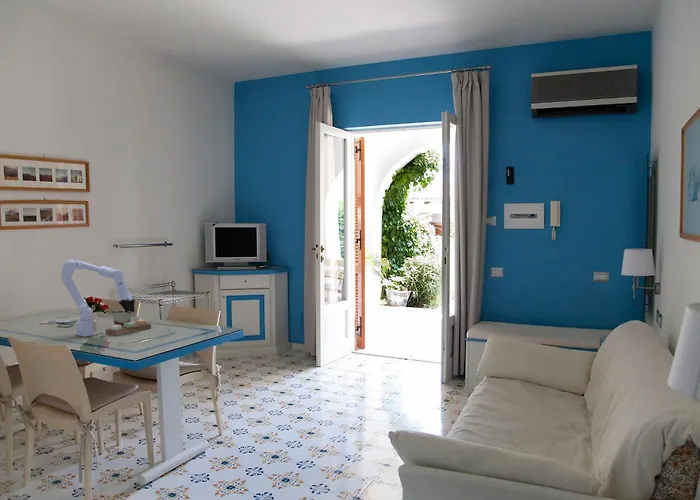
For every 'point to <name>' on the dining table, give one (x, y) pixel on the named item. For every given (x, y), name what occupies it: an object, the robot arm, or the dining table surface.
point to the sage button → (128, 324)
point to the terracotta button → (141, 322)
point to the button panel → (128, 329)
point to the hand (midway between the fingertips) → (130, 311)
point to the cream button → (115, 327)
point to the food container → (121, 316)
